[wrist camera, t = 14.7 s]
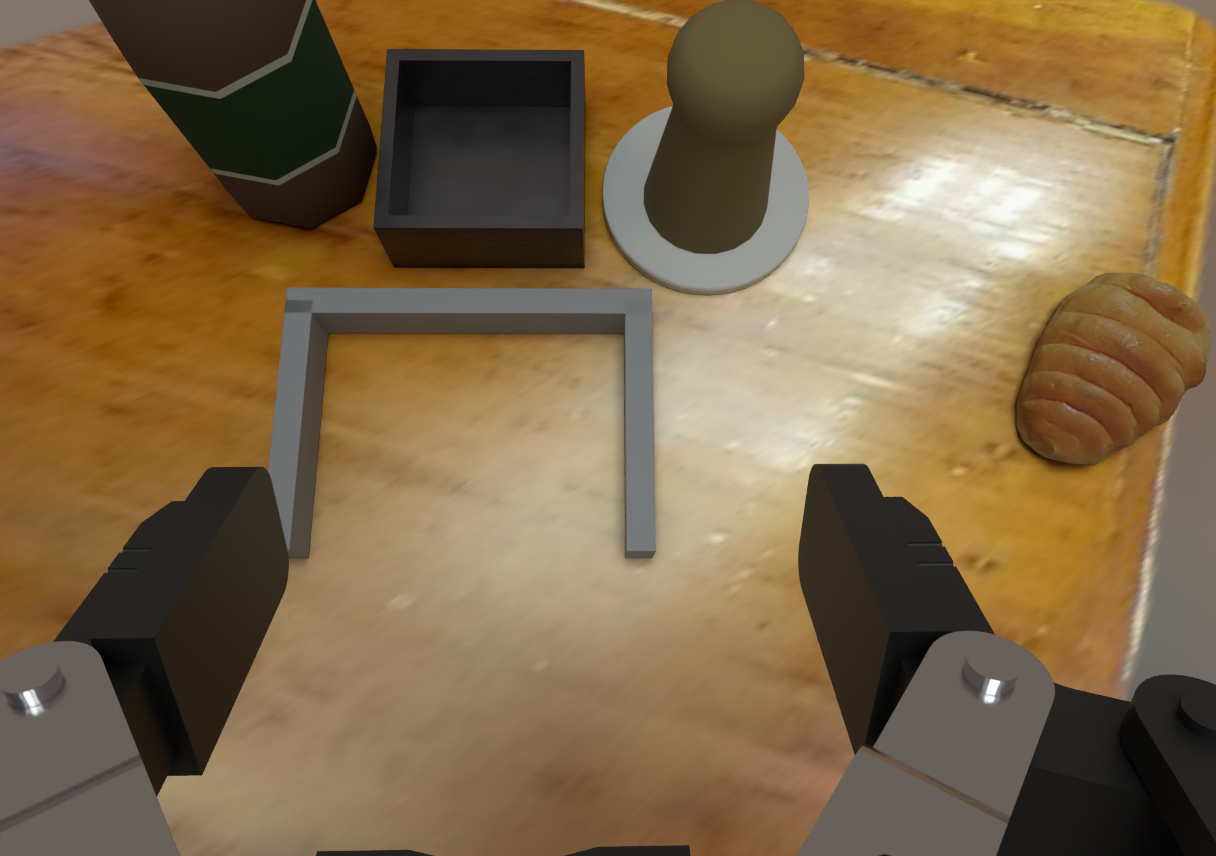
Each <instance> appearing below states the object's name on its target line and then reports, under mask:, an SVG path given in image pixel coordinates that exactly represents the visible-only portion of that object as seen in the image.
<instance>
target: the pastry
mask: <svg viewBox="0 0 1216 856" xmlns="http://www.w3.org/2000/svg"><path fill="white" fill-rule="evenodd" d="M1211 326H1212V324H1211V322H1210V320H1209V317H1208V315H1207V314H1206V313H1205V312H1204V311H1203V309H1201V308H1200V307H1199V306H1198V304H1197V303H1196V302H1195V301H1193V300H1192V299H1191V298H1190V297H1188V296H1187V295H1186V294H1184V293H1183V292H1182V291H1181V290H1179V289H1178V288H1177V287H1175V286H1173V285H1170V284H1167V283H1162V282H1159V281H1156V280H1155V279H1153V278H1152V277H1149V276H1146V275H1142V274H1136V273H1104V274H1101V275H1099V276H1097V277H1095V278H1094V279H1093V280H1092V281H1091V282H1089V283H1088V284H1087V285H1086V286H1084V287H1083V288H1080V289H1078V290H1076V291H1074V292H1073V293H1071V294H1069V295H1068V296H1066V297H1065V298H1064V299H1063V300H1062V301H1061V303H1060V305H1059V307H1058V309H1057V311H1056V312H1055V314H1054V315H1053V317H1052V319H1051V320H1050V322H1049V323H1048V325H1047V328H1046V329H1045V331H1044V332H1043V334H1042V336H1041V338H1040V340H1039V342H1038V345H1037V347H1036V349H1035V352H1034V354H1033V357H1032V360H1031V362H1030V365H1029V368H1028V371H1027V374H1026V377H1025V379H1024V382H1023V384H1022V387H1021V390H1020V392H1019V396H1018V399H1017V404H1016V408H1017V419H1016V425H1017V429H1018V432H1019V434H1020V436H1021V438H1022V440H1023V441H1024V442H1025V443H1026V444H1028V445H1029V446H1030V447H1031V448H1032V449H1033V450H1035V451H1036V452H1037V453H1039V454H1040V455H1042V456H1043V457H1046V458H1048V459H1052V460H1056V461H1060V462H1064V463H1068V464H1085V465H1095V464H1097V463H1099V462H1100V461H1102V460H1103V459H1105V458H1107V457H1108V456H1109V455H1111V454H1112V453H1113V452H1115V451H1118V450H1121V449H1123V448H1125V447H1128V446H1130V445H1132V444H1134V443H1135V442H1136V441H1137V440H1138V439H1139V438H1140V437H1141V436H1142V435H1143V434H1145V433H1146V432H1148V431H1149V430H1151V429H1152V428H1153V427H1154V426H1158V425H1161V424H1162V423H1164V422H1166V421H1168V420H1169V419H1170V417H1171V416H1172V415H1173V414H1174V412H1175V410H1176V409H1177V407H1178V404H1179V402H1180V401H1181V399H1182V396H1183V395H1184V393H1185V392H1186V391H1187V390H1188V389H1190V388H1193V387H1196V386H1198V385H1199V384H1200V383H1201V382H1202V381H1203V379H1204V376H1205V373H1206V363H1207V361H1208V355H1209V348H1210V341H1211V340H1210V331H1211Z"/></svg>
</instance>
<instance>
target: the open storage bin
mask: <svg viewBox="0 0 1216 856" xmlns="http://www.w3.org/2000/svg"><path fill="white" fill-rule="evenodd" d="M585 112H586V101H585V64H584V50H450V49H387V58H386V71H385V84H384V98H383V111H382V124H381V137H380V150H379V163H378V176H377V189H376V202H375V215H374V229H375V231H376V233H377V235H378V237H379V239H380V241H381V243H382V245H383V247H384V249H385V250H386V252H387V254H388V256H389V258H390V260H391V262H392V264H393V266H394V267H439V268H584V249H585Z"/></svg>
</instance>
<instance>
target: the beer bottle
mask: <svg viewBox="0 0 1216 856" xmlns="http://www.w3.org/2000/svg"><path fill="white" fill-rule="evenodd" d="M89 1H90V3H91V4H92V6H93V7H94V9H95V11H96V12H97V14H98V16H99V17H100V19H101V21H102V22H103V24H104V26H105V27H106V29H107V30H108V32H109V34H110V35H111V37H112V39H113V40H114V42H115V43H116V45H117V46H118V48H119V50H120V51H121V53H122V54H123V56H124V57H125V59H126V60H127V62H128V63H129V65H130V66H131V68H132V69H133V71H134V72H135V74H136V75H137V77H138V78H139V80H140V81H141V82H142V83H143V85H144V86H145V87H146V88H147V90H148V91H149V92H150V93H151V95H152V96H153V97H154V98H155V100H156V101H157V102H158V103H159V105H160V106H161V107H162V109H163V110H164V111H165V112H166V114H167V115H168V116H169V117H170V119H171V120H172V121H173V122H174V124H175V125H176V126H177V127H178V129H179V130H180V131H181V132H182V134H183V135H184V136H185V137H186V139H187V140H188V141H189V143H190V144H191V145H192V146H193V148H194V149H195V150H196V151H197V153H198V154H199V155H200V156H201V158H202V159H203V160H204V161H205V163H206V164H207V165H208V166H209V168H210V169H211V170H212V171H213V173H214V174H215V175H216V176H217V178H218V179H219V180H220V182H221V183H222V184H223V185H224V187H225V188H226V189H227V190H228V192H229V193H230V194H231V195H232V197H233V198H234V199H235V200H236V201H237V202H238V204H239V205H240V206H241V207H242V208H243V209H244V210H245V211H246V212H247V213H248V214H249V215H250V216H251V217H253V218H258V219H264V220H269V221H274V222H280V223H285V224H290V225H295V226H301V227H306V228H313V227H315V226H316V225H318V224H320V223H322V222H323V221H325V220H327V219H329V218H331V217H332V216H334V215H336V214H338V213H339V212H341V211H343V210H345V209H346V208H348V207H350V206H352V205H354V204H355V203H357V202H359V201H360V200H361V198H362V194H363V191H364V188H365V184H366V181H367V178H368V175H369V171H370V168H371V165H372V162H373V158H374V155H375V152H376V149H377V146H376V143H375V140H374V137H373V134H372V131H371V128H370V125H369V123H368V121H367V118H366V116H365V114H364V111H363V109H362V107H361V105H360V102H359V100H358V98H357V95H356V93H355V91H354V88H353V86H352V84H351V81H350V79H349V77H348V75H347V72H346V70H345V68H344V65H343V63H342V61H341V58H340V56H339V54H338V51H337V49H336V47H335V44H334V42H333V40H332V38H331V35H330V33H329V31H328V28H327V26H326V24H325V21H324V19H323V17H322V14H321V12H320V10H319V8H318V5H317V3H316V1H315V0H89Z"/></svg>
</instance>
